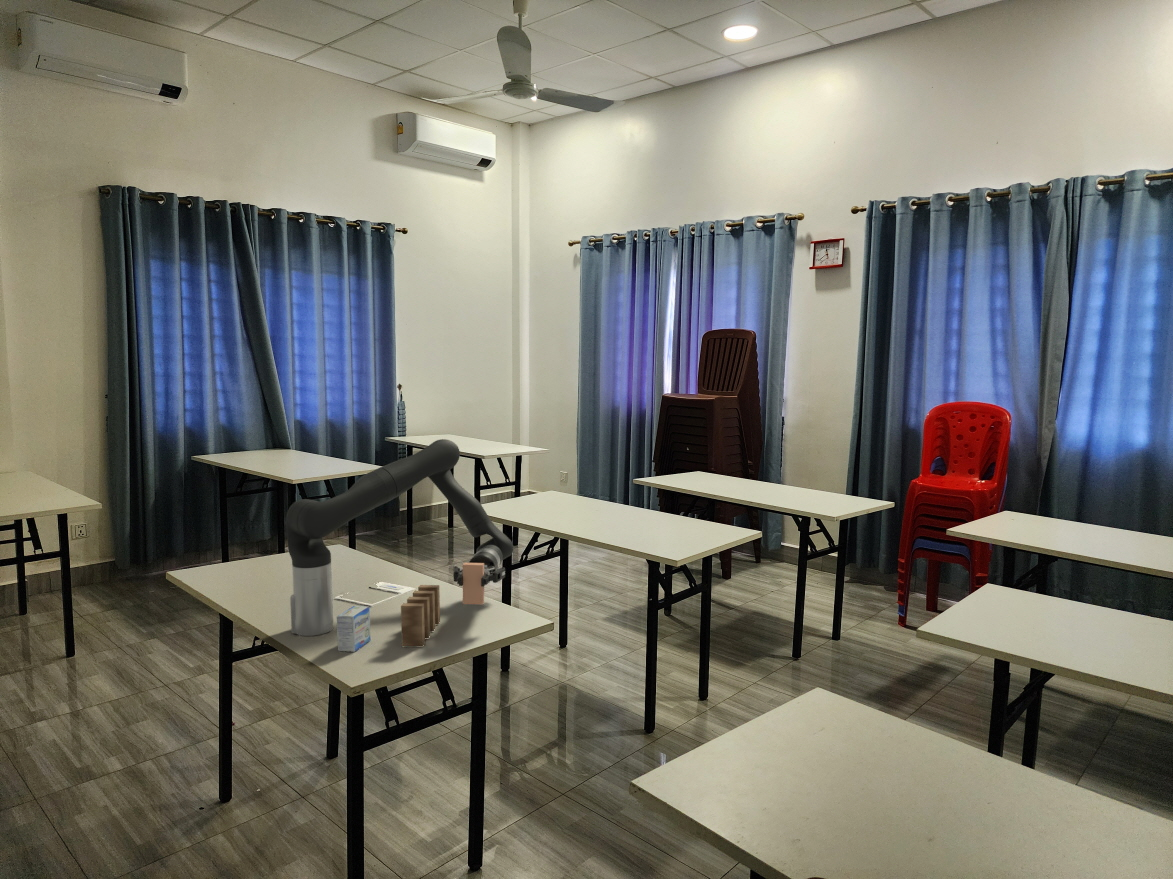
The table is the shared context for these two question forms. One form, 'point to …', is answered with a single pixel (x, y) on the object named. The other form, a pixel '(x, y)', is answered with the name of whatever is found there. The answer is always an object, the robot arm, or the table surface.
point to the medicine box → (353, 628)
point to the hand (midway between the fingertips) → (471, 582)
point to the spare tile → (473, 583)
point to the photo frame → (386, 587)
